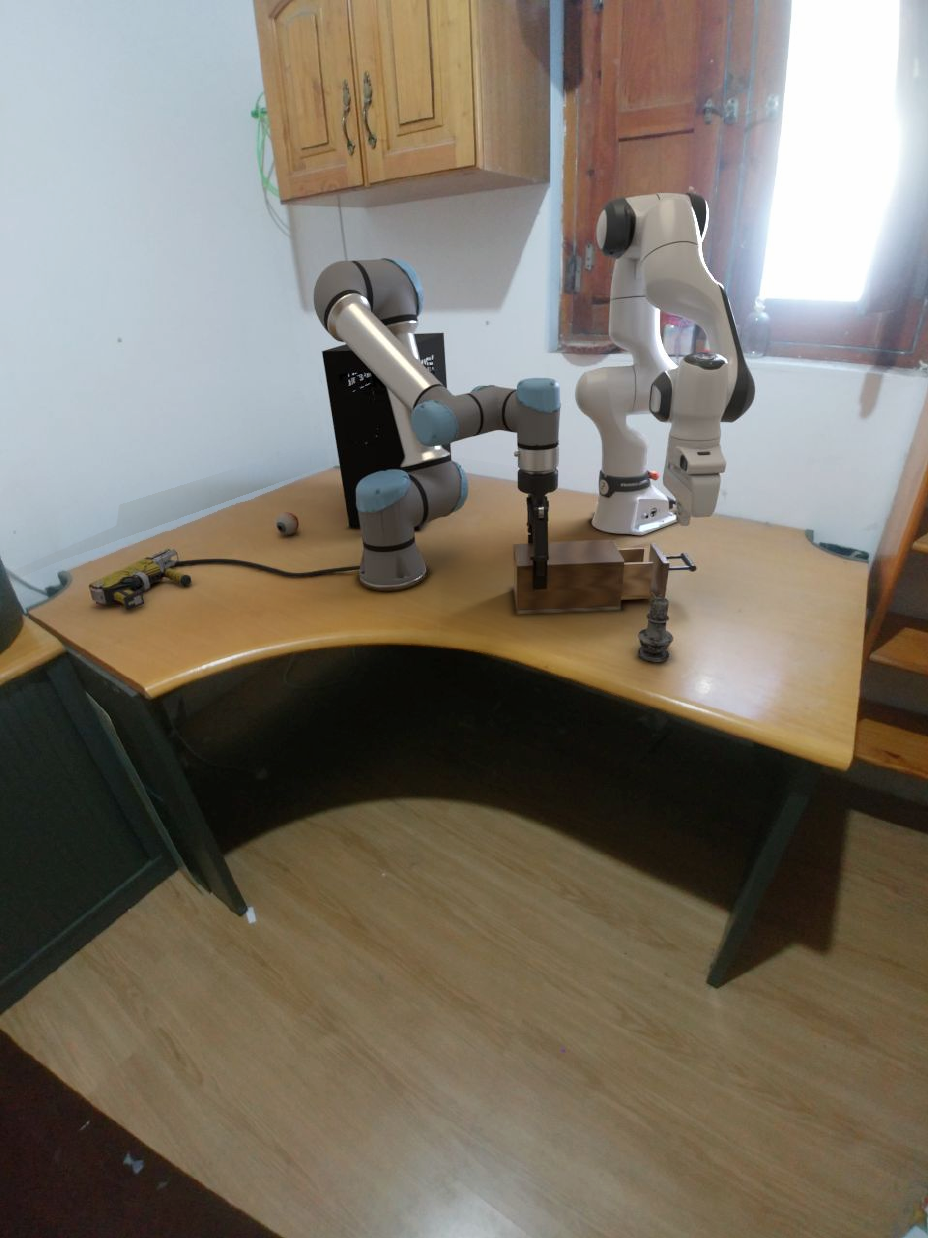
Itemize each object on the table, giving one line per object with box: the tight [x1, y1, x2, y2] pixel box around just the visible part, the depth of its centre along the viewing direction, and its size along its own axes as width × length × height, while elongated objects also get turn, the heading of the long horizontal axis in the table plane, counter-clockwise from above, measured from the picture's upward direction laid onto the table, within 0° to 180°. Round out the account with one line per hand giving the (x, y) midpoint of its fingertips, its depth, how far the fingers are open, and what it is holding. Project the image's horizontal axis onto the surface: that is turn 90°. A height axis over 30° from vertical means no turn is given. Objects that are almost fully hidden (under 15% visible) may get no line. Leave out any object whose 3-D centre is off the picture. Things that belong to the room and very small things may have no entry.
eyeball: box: [275, 511, 300, 536], centre depth 163 cm, size 6×6×6 cm
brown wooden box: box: [512, 539, 624, 615], centre depth 122 cm, size 21×11×11 cm, turn 90°
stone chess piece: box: [637, 593, 674, 663], centre depth 103 cm, size 6×6×12 cm
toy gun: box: [88, 547, 192, 612], centre depth 139 cm, size 5×24×15 cm
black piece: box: [321, 332, 452, 532], centre depth 169 cm, size 38×20×45 cm, turn 167°
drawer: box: [618, 543, 697, 601], centre depth 122 cm, size 25×10×9 cm, turn 90°
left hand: (536, 575), depth 122 cm, fingers closed on brown wooden box, 11 cm apart
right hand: (682, 523), depth 116 cm, fingers closed
